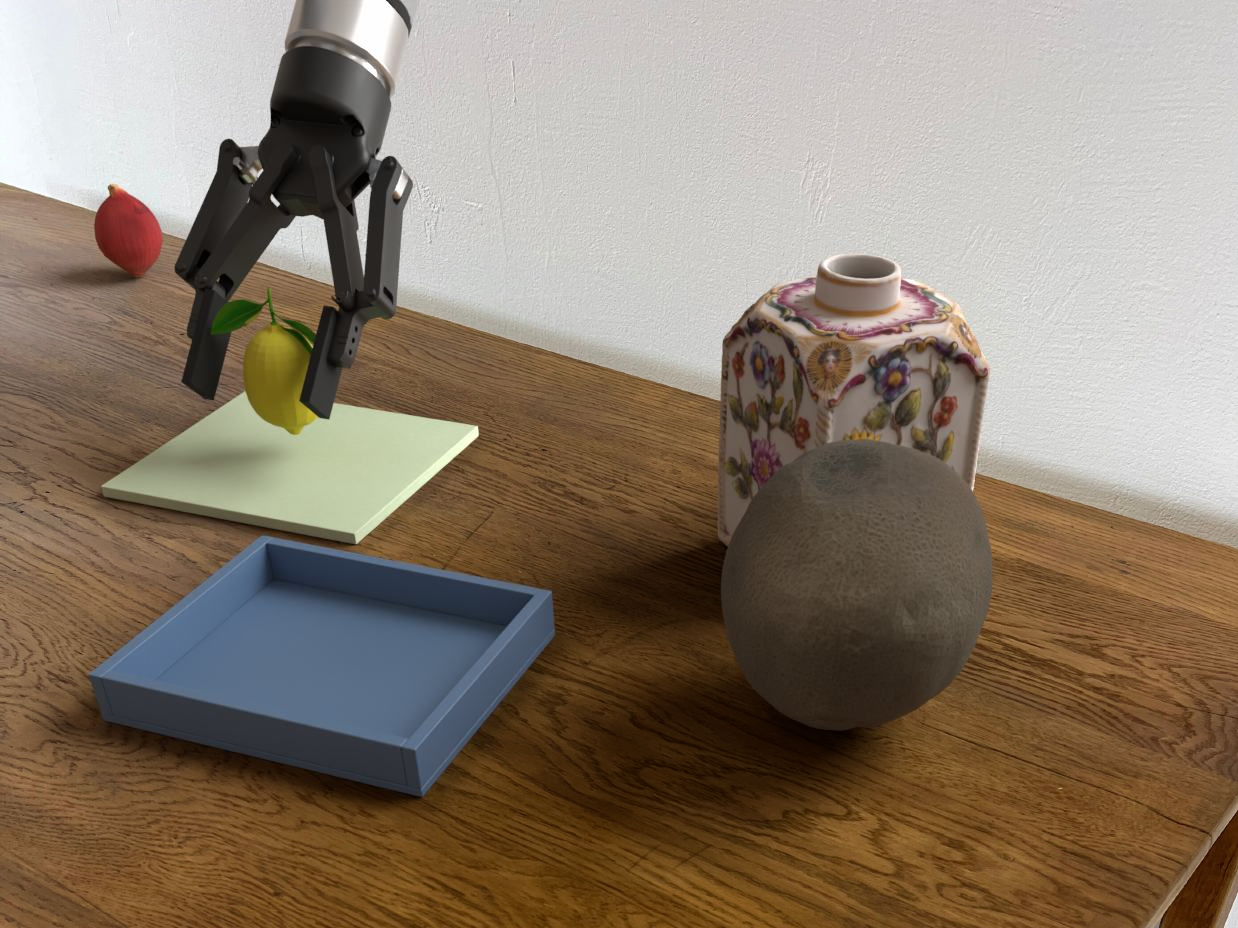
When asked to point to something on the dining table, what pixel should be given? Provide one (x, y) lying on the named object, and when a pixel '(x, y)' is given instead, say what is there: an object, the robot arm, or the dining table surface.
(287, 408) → the lemon
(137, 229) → the onion
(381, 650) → the tray
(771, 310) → the decorative jar
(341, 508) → the mat
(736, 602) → the cantaloupe
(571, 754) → the dining table surface
